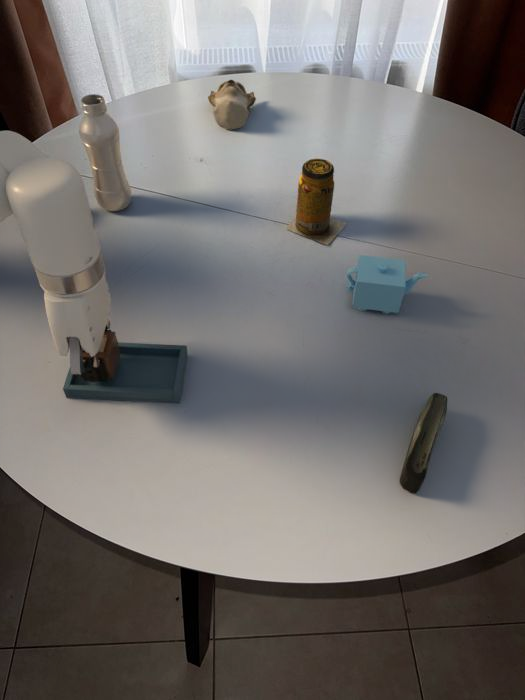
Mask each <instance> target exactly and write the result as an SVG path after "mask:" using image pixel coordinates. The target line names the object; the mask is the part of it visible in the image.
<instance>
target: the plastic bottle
mask: <svg viewBox="0 0 525 700" xmlns="http://www.w3.org/2000/svg"><path fill="white" fill-rule="evenodd" d="M80 104H81V112H82V114H84V115H83V116H82V119H81V121H80V123H79V126H78V134H79V137H80V139H81V142H82V145H83V147H84V150H85V152H86V156H87V158H88V162H89V164H90V168H91V175H92V181H93V196H94V198H95V201H96V203H97V205H99V207H101V208H102V209H104V210H106V211H109V212H119V211H122V210H124V209H126V208H127V207H128V206H129V205H130V203H131V201H132V189H131V185H130V183H129V181H128V179H127V176H126V173H125V169H124V166H123V160H122V154H121V141H120V139H121V138H120V137H121V136H120V128H119V126H118V124H117V122H116V120H114V118H113V117H111V116H110V115H109V114H108V112H107V111H108V108H107V105H106V100H105V98H104V96H102V95H101V94H95V93H93V94H92V93H91V94H86V95H84V96H82V98H81V99H80Z"/></svg>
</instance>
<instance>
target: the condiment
mask: <svg viewBox="0 0 525 700" xmlns="http://www.w3.org/2000/svg"><path fill="white" fill-rule="evenodd" d="M334 173H335V167H334V165H333V164H332V162H330V161H329V160H326V159H323V158H311V159H308V160H306V161H305V162H304V163H303V164H302V167H301V173H300V175H301V176H300V177H299V179H298V185H297V186H298V187H297V198H296V209H295V218H294V219H293V220H292V222H290V223H289V224H288V225H287V226H286V227H285V230H288V231H289V232H293V233H295V234H297V235H300V236H302V237H305V238H307V239H311V240H313V241H315V242H317V243H320V244H322V245H325V246H328V245H329V244H330V243H331V242H332V241H333V240H334V239H335V238H336V237H337V236H338V235H339V234H340V232H341V231H342V230H343V229H344V228H345V226H346V225H347V223H345V222H342V221H340V220H338V219H334V218H332V217H331V214H332V205H333V197H334V191H335V180H334V176H335V175H334Z"/></svg>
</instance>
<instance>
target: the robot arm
mask: <svg viewBox="0 0 525 700" xmlns="http://www.w3.org/2000/svg"><path fill="white" fill-rule="evenodd" d="M12 215H13V217H14V219H15V222H16V225H17V228H18V230H19V232H20V235H21V238H22V240H23V243H24V246H25V248H26V251H27V254H28V257H29V259H30V262H31V265H32V267H33V269H34V272H35V275H36V278H37V280H38V283H39V286H40V288H41V289H42V290H43V291H44V295H43V298H44V306H45V313H46V317H47V321H48V326H49V329H50V332H51V336H52V339H53V342H54V345H55V348H56V350H57V353H58V354H59V355H60V356H62V357H67V356H68V353H69V368H70V372H71V374H82V377H83V380H85V381H90V382H97V381H100V382H106V381H107V378H108V377H107V374H106V370H105V367H104V364H103V361H101V360H99V355H98V350H99V348H100V345H101V341H102V338H103V335H104V331H110V332H112V330H111V329H110V328H111V320H110V319H109V316H110V314H111V309H112V299H111V293H110V289H109V285H108V281H107V278H106V267H105V262H104V258H103V255H102V249H101V247H100V242H99V239H98V234H97V231H96V226H95V222H94V218H93V215H92V211H91V206H90V203H89V198H88V194H87V190H86V185H85V183H84V179H83V177H82V174H81V173H80V171H79V170H78V168H77V167H76V166H75V165H73V164H72V163H70V162H69V161H67V160H65V159H61V158H57V157H52V156H49V154H47V153H46V152H44V151H43V150H42V149H41V148H39V147H38V146H37V145H36V144H34V143H33V142H32V141H31V140H29V139H28V138H26V137H25V136H23V135H21V134H20V133H18V132H16V131H12V130H0V224H1V223H3V222H4V221H5V220H7V219H8V218H9V217H10V216H12ZM83 353H89V355H90V356H91V357H83Z"/></svg>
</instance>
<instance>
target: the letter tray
mask: <svg viewBox="0 0 525 700" xmlns="http://www.w3.org/2000/svg"><path fill="white" fill-rule="evenodd" d="M118 345H119V349H120V357H119V361H118V365H117V369H116V373H115V377H114V379H107V381H106V382H100V381H97V382H90V381H85V380H83V377H80V374H71V372H70V367H69V369H68V371H67V374H66V377H65V380H64V384H63V387H62V392H63V393H64V395H65V398H66V399H83V400H84V399H86V400H104V401H105V400H106V401H108V400H109V401H110V400H111V401H124V402H125V401H127V402H129V401H130V402H147V403H148V402H150V403H168V402H169V404H170V403H172V404H180V403H181V400H182V399H181V398H182V393H183V386H184V381H185V373H186V368H187V361H188V356H189V355H188V353H189V352H188V346H187V345H183V344H181V345H180V344H161V343H141V342H139V343H138V342H119V341H118Z"/></svg>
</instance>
